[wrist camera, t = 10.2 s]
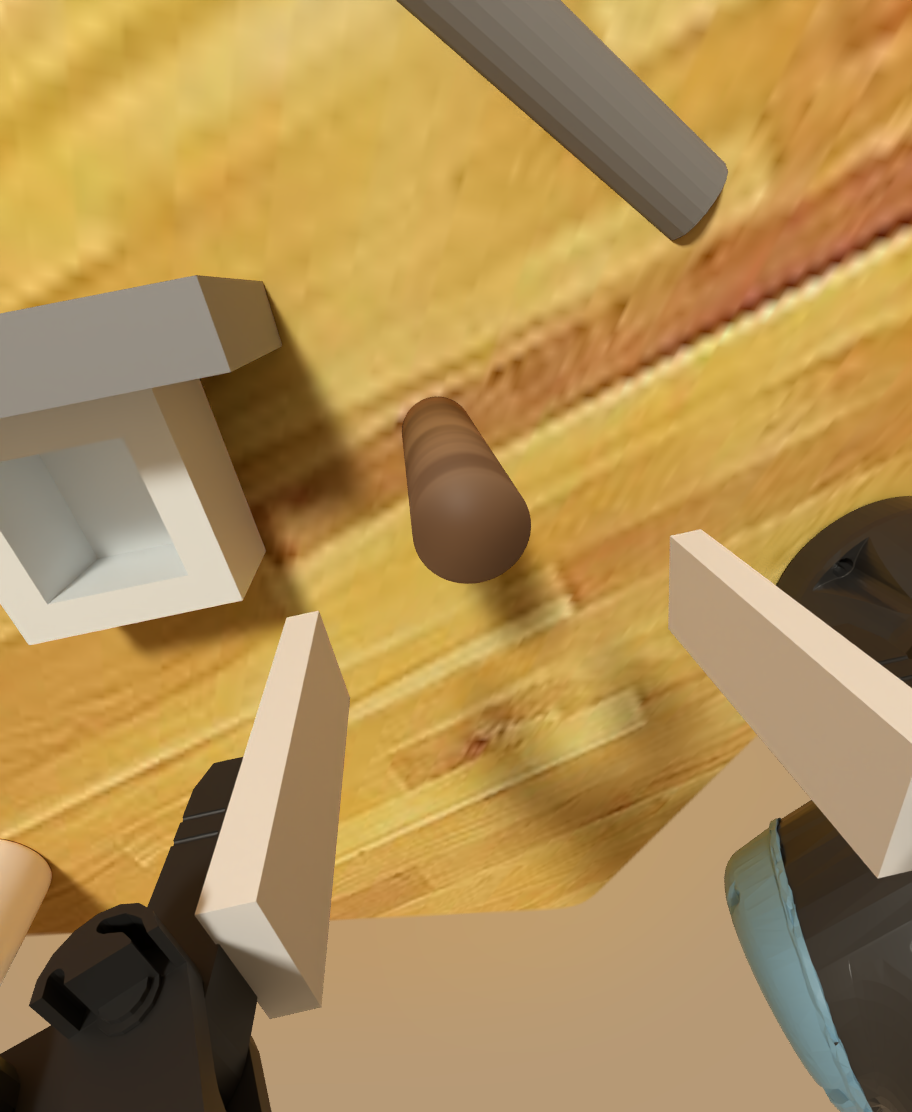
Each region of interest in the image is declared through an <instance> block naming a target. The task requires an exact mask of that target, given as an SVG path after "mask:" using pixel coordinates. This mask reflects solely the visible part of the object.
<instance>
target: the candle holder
mask: <svg viewBox="0 0 912 1112" xmlns="http://www.w3.org/2000/svg"><path fill="white" fill-rule="evenodd" d="M51 880H52V873H51V869H50V867H49V865H48V863H47V862H46V861H45V860H44V859H43V858H42V857H41V856H40V855H39V854H38V853H36V852H35V851H33V850H31V849H30V848H28V847H26V846H23V845H21V844H18V843H15V842H12V841H8V840H3V839H0V986H1V984H2V982H3V980H4V978H5V976H6V974H7V972H8V970H9V967H10V966H11V964H12V962H13V960H14V958H15V956H16V954H17V952H18V950H19V948H20V946H21V944H22V942H23V940H24V938H25V936H26V934H27V932H28V930H29V928H30V926H31V924H32V922H33V920H34V918H35V916H36V914H37V912H38V910H39V908H40V906H41V904H42V902H43V900H44V898H45V895H46V893H47V891H48V889H49V886H50V884H51Z"/></svg>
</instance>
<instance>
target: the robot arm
mask: <svg viewBox="0 0 912 1112" xmlns="http://www.w3.org/2000/svg"><path fill="white" fill-rule="evenodd" d="M668 629H669V630H670V631H671V632H672V634H673V635H674V636H675V637H676V638H677V640H678V641H679V642H680V643H681V644H682V645H683V647H684V648H685V649H686V650H687V651H688V653H689V654H690V655H691V656H692V657H693V659H694V660H695V661H696V662H697V663H698V665H699V666H700V667H701V668H702V669H703V671H704V672H705V673H706V674H707V675H708V677H709V678H710V679H711V680H712V681H713V683H714V684H715V685H716V686H717V687H718V688H719V690H720V691H721V692H722V693H723V694H724V696H725V697H726V698H727V699H728V700H729V702H730V703H731V704H732V705H733V706H734V708H735V709H736V710H737V711H738V712H739V714H740V715H741V716H742V717H743V718H744V720H745V721H746V722H747V723H748V724H749V726H750V727H751V728H752V729H753V730H754V731H755V733H756V734H757V735H758V736H759V737H760V739H761V740H762V741H763V742H764V743H765V745H766V746H767V747H768V748H769V749H770V750H771V752H772V753H773V754H774V755H775V756H776V757H777V759H778V760H779V761H780V763H781V764H782V765H783V766H784V767H785V769H786V770H787V771H788V772H789V773H790V774H791V776H792V777H793V778H794V779H795V780H796V782H797V783H798V784H799V785H800V786H801V788H802V789H803V790H804V791H805V792H806V794H807V795H808V796H809V797H810V798H811V801H809V802H807V803H806V804H804V805H803V806H801V807H800V808H798V809H797V810H795V811H793V812H792V813H790V814H789V815H787V816H786V817H784V818H782V819H781V818H778V819H774V820H773V821H771V823H770V826H769V828H768V829H767V830H765V831H764V832H762V833H761V834H760V835H758V836H757V837H755V838H754V839H753V840H751V841H750V842H749V843H747V844H746V845H745V846H743V847H742V848H741V849H739V850H738V851H737V852H735V853H734V854H733V855H732V857H731V858H730V860H729V862H728V864H727V866H726V870H725V878H724V879H725V893H726V899H727V904H728V907H729V911H730V914H731V917H732V921H733V924H734V927H735V930H736V933H737V935H738V938H739V941H740V943H741V946H742V948H743V951H744V953H745V956H746V958H747V960H748V963H749V965H750V967H751V969H752V972H753V974H754V976H755V978H756V980H757V982H758V984H759V986H760V988H761V991H762V993H763V995H764V997H765V998H766V1000H767V1002H768V1004H769V1006H770V1008H771V1010H772V1012H773V1014H774V1016H775V1017H776V1019H777V1021H778V1023H779V1025H780V1026H781V1028H782V1030H783V1032H784V1033H785V1035H786V1037H787V1039H788V1040H789V1042H790V1044H791V1045H792V1047H793V1049H794V1051H795V1052H796V1054H797V1055H798V1057H799V1058H800V1060H801V1062H802V1063H803V1065H804V1066H805V1068H806V1069H807V1071H808V1072H809V1074H810V1075H811V1076H812V1077H813V1079H814V1080H815V1081H816V1083H817V1084H818V1085H820V1086H821V1087H823V1088H824V1090H825V1092H826V1094H827V1096H828V1097H829V1099H830V1101H831V1102H832V1103H833V1104H834V1106H835V1107H837V1109H838V1110H839V1111H840V1112H912V496H903V497H895V498H889V499H885V500H881V501H877V502H874V503H871V504H868V505H866V506H863V507H861V508H859V509H856V510H854V511H852V512H850V513H848V514H846V515H845V516H843V517H841V518H840V519H838V520H836V521H835V522H833V523H832V524H830V525H829V526H828V527H826V528H825V529H824V530H822V531H821V532H820V533H819V534H817V535H816V536H815V537H814V538H813V539H812V540H811V541H810V542H809V543H808V544H807V545H806V546H805V547H804V548H803V549H802V550H801V551H800V552H799V553H798V554H797V555H796V557H795V558H794V559H793V560H792V562H791V563H790V564H789V566H788V567H787V569H786V570H785V572H784V573H783V575H782V577H781V579H780V580H779V582H778V584H777V586H775V585H774V584H773V583H772V582H770V581H769V580H768V579H766V578H765V577H764V576H762V575H761V574H760V573H758V572H757V571H756V570H754V569H753V568H752V567H750V566H749V565H748V564H746V563H745V562H744V561H742V560H741V559H740V558H738V557H737V556H736V555H734V554H733V553H732V552H730V551H729V550H728V549H726V548H725V547H724V546H722V545H721V544H720V543H718V542H717V541H716V540H714V539H713V538H712V537H710V536H709V535H708V534H706V533H705V532H704V531H703V530H701V529H700V530H696V531H691V532H686V533H682V534H677V535H672V536H670V571H669V628H668ZM349 703H350V697H349V694H348V691H347V688H346V685H345V683H344V680H343V677H342V674H341V671H340V669H339V666H338V663H337V660H336V657H335V655H334V652H333V649H332V646H331V643H330V641H329V638H328V635H327V632H326V629H325V627H324V624H323V621H322V618H321V615H320V613H319V611H315V612H310V613H306V614H301V615H296V616H291V617H287V618H286V622H285V625H284V628H283V631H282V634H281V638H280V641H279V644H278V647H277V651H276V654H275V657H274V660H273V663H272V667H271V670H270V673H269V676H268V680H267V683H266V686H265V689H264V692H263V696H262V699H261V702H260V705H259V709H258V712H257V715H256V718H255V721H254V725H253V728H252V731H251V734H250V738H249V741H248V744H247V747H246V750H245V754H244V757H240V758H235V759H231V760H226V761H222V762H217V763H214V764H213V765H212V766H211V767H210V769H209V770H208V771H207V773H206V774H205V775H204V776H203V778H202V779H201V780H200V782H199V783H198V784H197V785H196V787H195V788H194V789H193V792H192V794H191V797H190V799H189V802H188V805H187V807H186V810H185V812H184V815H183V822H181V823H180V825H179V828H178V830H177V833H176V835H175V838H174V840H173V841H174V846H171V848H170V851H169V853H168V856H167V858H166V861H165V863H164V866H163V869H162V871H161V874H160V876H159V879H158V881H157V884H156V886H155V889H154V892H153V894H152V897H151V899H150V902H149V904H148V907H145V906H143V905H142V904H140V903H133V904H120V905H118V906H115V907H113V908H111V909H108V910H106V911H104V912H101V913H99V914H97V915H96V916H95V917H93V918H92V919H90V920H89V921H88V922H86V923H85V924H84V925H82V926H81V927H80V928H78V929H77V930H75V931H74V932H73V933H72V934H71V936H70V937H69V938H68V939H67V940H66V941H65V942H64V943H63V944H62V945H61V946H60V947H59V949H58V950H57V951H56V952H55V953H54V954H53V955H52V957H51V959H50V960H49V962H48V963H47V965H46V967H45V968H44V970H43V972H42V973H41V975H40V976H39V978H38V979H37V982H36V985H35V988H34V991H33V994H32V998H31V1001H30V1004H29V1006H30V1007H31V1008H32V1009H33V1010H35V1011H36V1012H37V1013H38V1014H39V1015H40V1016H41V1017H43V1018H44V1019H45V1020H46V1021H47V1022H49V1023H50V1024H51V1026H49V1027H48V1028H46V1029H44V1030H43V1031H41V1032H39V1033H37V1034H35V1035H33V1036H32V1037H30V1038H28V1039H26V1040H25V1041H23V1042H21V1043H19V1044H17V1045H16V1046H14V1047H12V1048H10V1049H9V1050H7V1051H5V1052H3V1053H1V1054H0V1112H271V1108H270V1103H269V1098H268V1093H267V1088H266V1084H265V1078H264V1073H263V1068H262V1064H261V1059H260V1054H259V1051H258V1049H257V1046H256V1044H255V1042H254V1040H253V1038H252V1036H251V1031H252V1025H253V1020H254V1015H255V1009H256V1004H257V1002H258V1003H259V1005H260V1006H261V1007H262V1009H263V1010H264V1011H265V1013H266V1014H267V1016H268V1017H269V1018H270V1019H272V1018H277V1017H281V1016H285V1015H290V1014H294V1013H298V1012H302V1011H307V1010H311V1009H316V1008H320V1007H321V1004H322V994H323V983H324V972H325V961H326V950H327V940H328V929H329V918H330V907H331V897H332V886H333V875H334V864H335V854H336V843H337V832H338V821H339V810H340V800H341V789H342V778H343V767H344V757H345V746H346V735H347V724H348V713H349Z"/></svg>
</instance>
